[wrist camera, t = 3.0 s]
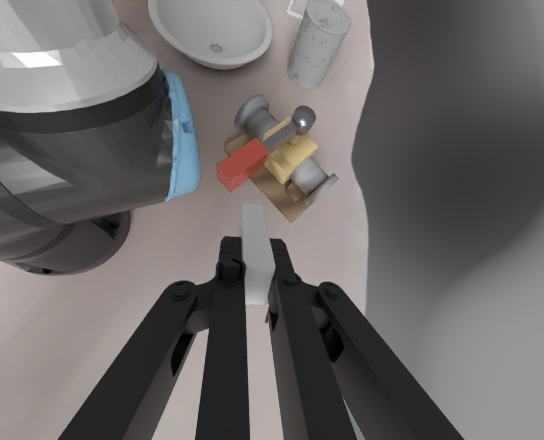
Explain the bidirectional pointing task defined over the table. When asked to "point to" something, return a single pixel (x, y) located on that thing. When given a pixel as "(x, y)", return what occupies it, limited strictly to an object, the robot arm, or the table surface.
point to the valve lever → (262, 150)
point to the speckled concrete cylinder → (317, 42)
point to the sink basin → (214, 29)
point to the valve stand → (281, 161)
